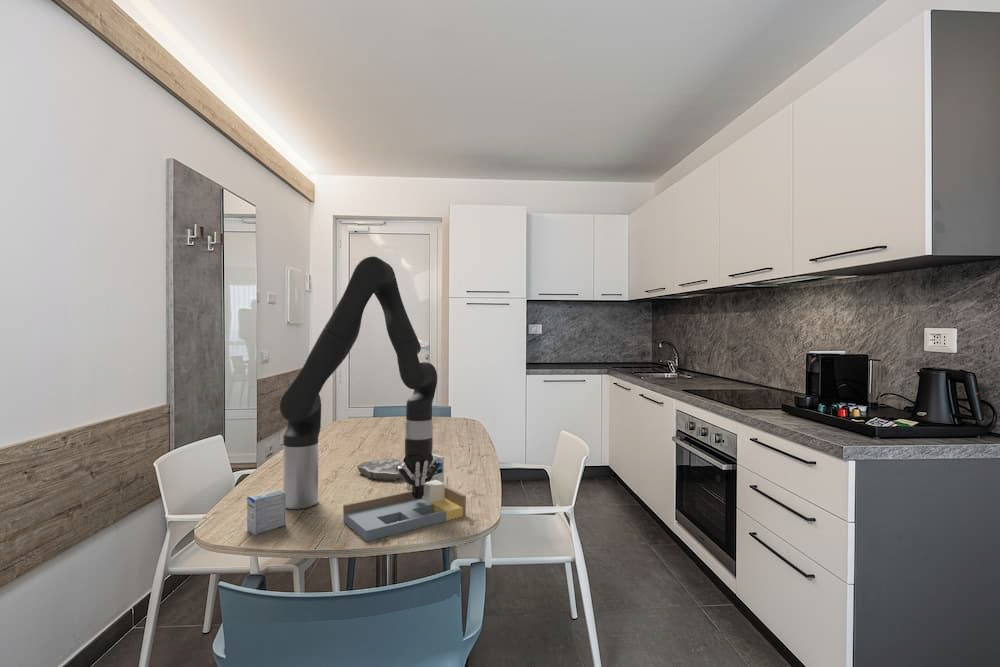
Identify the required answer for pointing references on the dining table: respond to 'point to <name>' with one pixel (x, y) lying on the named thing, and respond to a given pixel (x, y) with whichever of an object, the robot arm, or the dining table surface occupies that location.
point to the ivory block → (434, 491)
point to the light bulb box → (438, 474)
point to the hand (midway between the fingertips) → (417, 498)
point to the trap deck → (401, 513)
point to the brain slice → (381, 469)
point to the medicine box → (266, 511)
